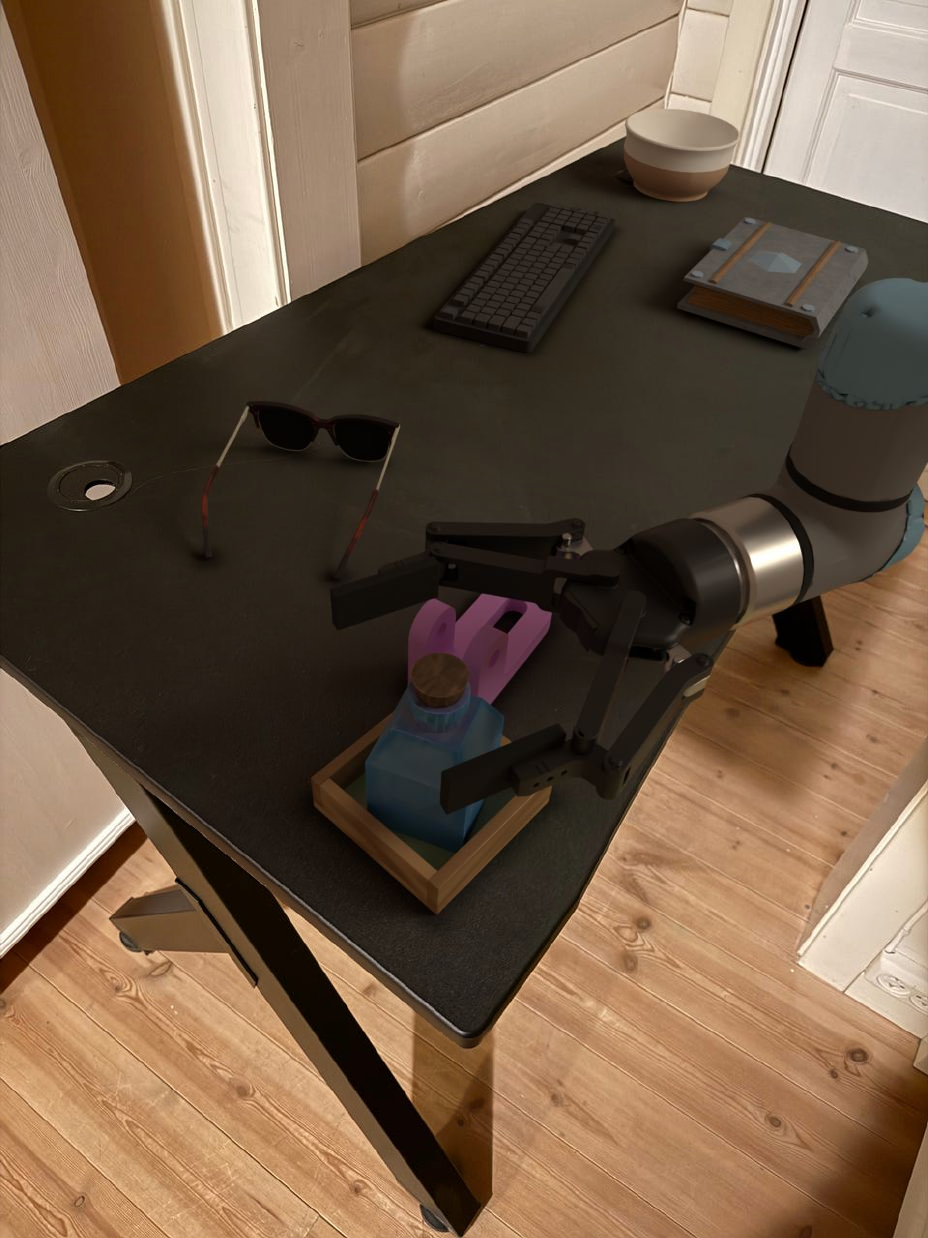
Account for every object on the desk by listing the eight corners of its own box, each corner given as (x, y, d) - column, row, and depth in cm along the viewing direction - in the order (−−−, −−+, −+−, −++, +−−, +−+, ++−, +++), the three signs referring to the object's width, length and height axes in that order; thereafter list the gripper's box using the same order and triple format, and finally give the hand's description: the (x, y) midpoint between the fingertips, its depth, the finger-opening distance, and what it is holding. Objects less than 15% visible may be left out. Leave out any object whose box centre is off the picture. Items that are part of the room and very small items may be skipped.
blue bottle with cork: (461, 855, 54) (473, 736, 46) (367, 820, 56) (362, 697, 47) (496, 775, 58) (513, 652, 50) (407, 744, 60) (409, 619, 51)
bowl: (665, 157, 139) (676, 101, 133) (748, 193, 131) (764, 134, 125) (592, 179, 132) (601, 120, 126) (676, 218, 123) (690, 156, 118)
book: (811, 354, 100) (827, 312, 96) (672, 310, 105) (682, 268, 101) (859, 283, 113) (875, 244, 109) (733, 247, 118) (744, 208, 114)
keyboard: (533, 212, 122) (535, 196, 121) (614, 229, 120) (617, 213, 119) (432, 329, 99) (433, 312, 98) (530, 353, 97) (532, 336, 95)
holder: (548, 801, 58) (555, 773, 56) (436, 915, 52) (438, 889, 50) (429, 710, 63) (430, 681, 60) (313, 806, 57) (310, 777, 55)
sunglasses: (401, 463, 82) (400, 419, 78) (357, 593, 72) (354, 548, 68) (254, 442, 83) (246, 396, 79) (190, 566, 73) (178, 521, 69)
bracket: (474, 724, 62) (481, 657, 57) (407, 688, 64) (408, 621, 59) (562, 613, 70) (575, 545, 65) (500, 584, 72) (508, 516, 67)
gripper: (829, 765, 50) (496, 931, 42) (581, 506, 65) (302, 594, 57) (881, 676, 45) (510, 848, 37) (597, 416, 60) (291, 500, 52)
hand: (383, 694), depth 47 cm, fingers open, 13 cm apart
